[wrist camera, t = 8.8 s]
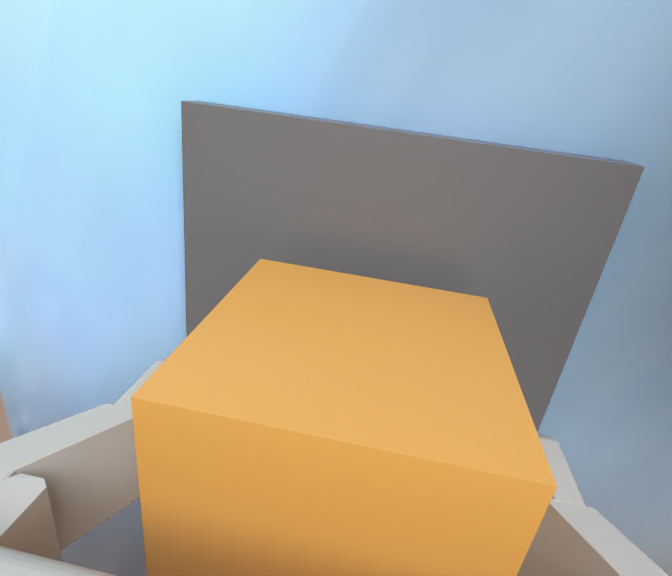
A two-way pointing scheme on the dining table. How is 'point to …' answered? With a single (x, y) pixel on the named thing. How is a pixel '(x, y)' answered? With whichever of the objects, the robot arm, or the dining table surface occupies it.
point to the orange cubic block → (338, 435)
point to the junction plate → (404, 219)
